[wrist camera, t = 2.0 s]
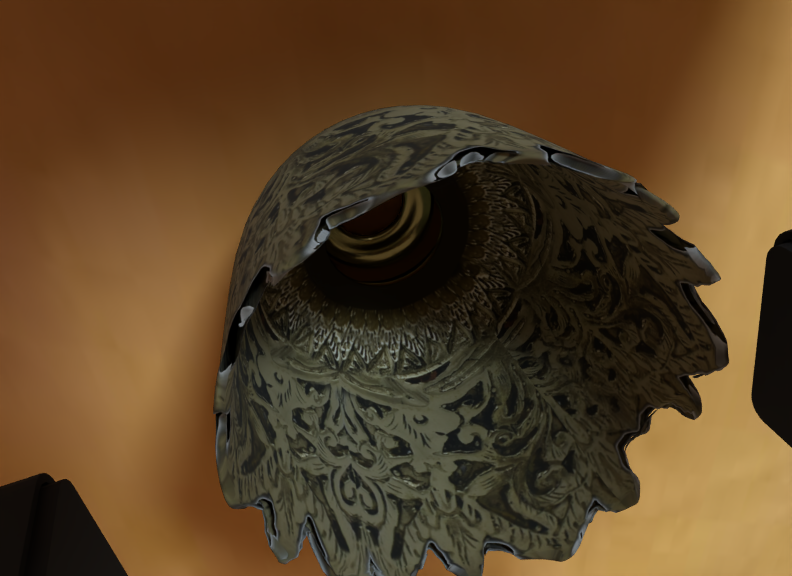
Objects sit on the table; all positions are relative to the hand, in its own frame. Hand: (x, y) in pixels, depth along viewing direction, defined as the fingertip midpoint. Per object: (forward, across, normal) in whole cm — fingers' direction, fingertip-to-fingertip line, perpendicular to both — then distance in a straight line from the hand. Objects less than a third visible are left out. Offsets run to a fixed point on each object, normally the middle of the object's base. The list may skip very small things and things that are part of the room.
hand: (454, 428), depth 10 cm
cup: (+8, -1, 0) cm, 9 cm away
